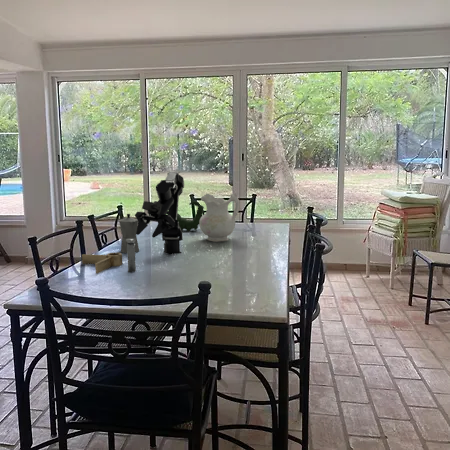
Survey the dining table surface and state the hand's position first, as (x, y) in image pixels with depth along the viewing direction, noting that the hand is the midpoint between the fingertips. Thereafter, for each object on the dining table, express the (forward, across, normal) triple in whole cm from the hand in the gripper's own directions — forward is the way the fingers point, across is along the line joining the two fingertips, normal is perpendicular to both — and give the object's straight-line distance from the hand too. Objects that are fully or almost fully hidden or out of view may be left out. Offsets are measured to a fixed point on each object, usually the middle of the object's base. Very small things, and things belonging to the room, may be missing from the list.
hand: (144, 235), depth 186 cm
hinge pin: (+15, 0, +4) cm, 15 cm away
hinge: (+15, -15, +3) cm, 22 cm away
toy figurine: (-40, -42, +59) cm, 83 cm away
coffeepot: (-2, -28, +21) cm, 36 cm away
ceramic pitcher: (-35, -8, +54) cm, 64 cm away
